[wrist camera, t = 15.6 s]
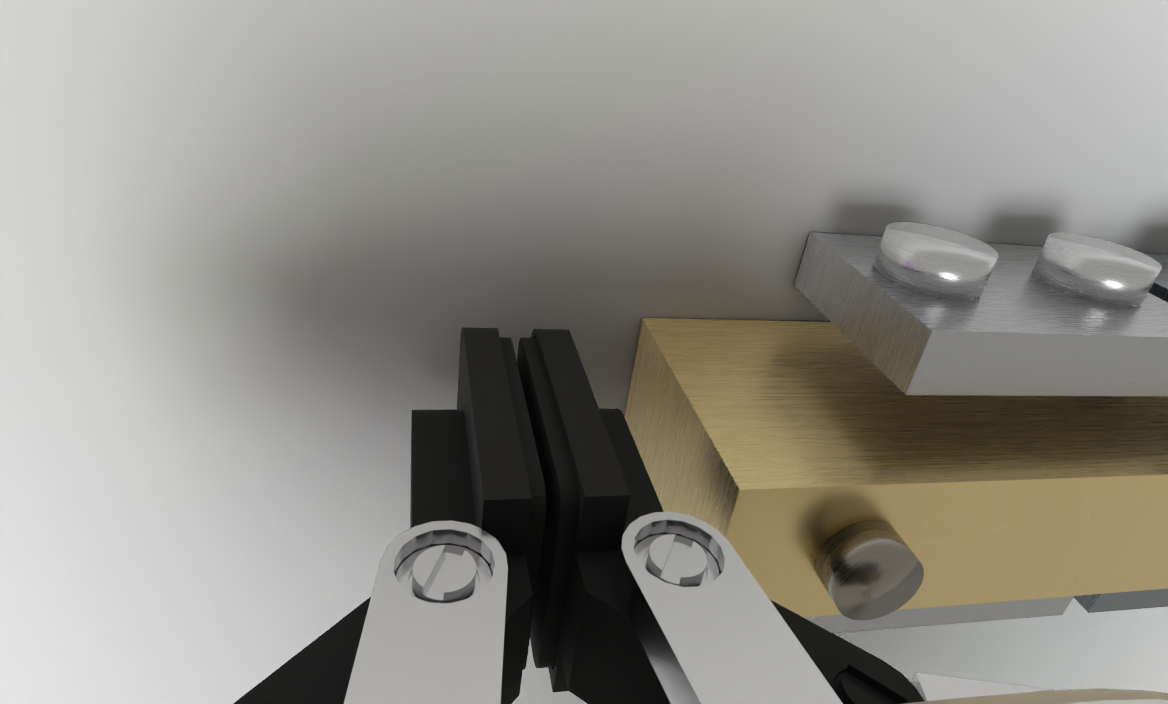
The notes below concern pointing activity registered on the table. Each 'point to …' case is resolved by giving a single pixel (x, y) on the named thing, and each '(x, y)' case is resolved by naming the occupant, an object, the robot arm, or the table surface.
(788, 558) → the master link
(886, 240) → the chain end grey
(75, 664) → the table surface
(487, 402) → the robot arm
